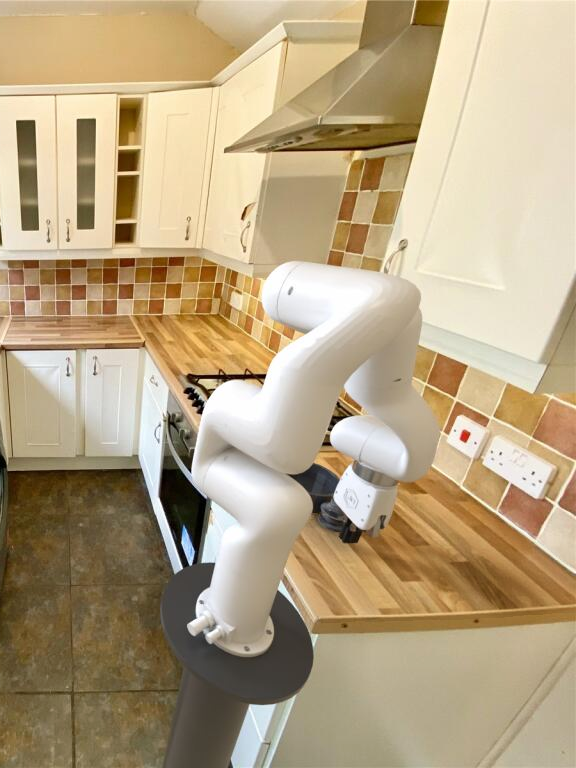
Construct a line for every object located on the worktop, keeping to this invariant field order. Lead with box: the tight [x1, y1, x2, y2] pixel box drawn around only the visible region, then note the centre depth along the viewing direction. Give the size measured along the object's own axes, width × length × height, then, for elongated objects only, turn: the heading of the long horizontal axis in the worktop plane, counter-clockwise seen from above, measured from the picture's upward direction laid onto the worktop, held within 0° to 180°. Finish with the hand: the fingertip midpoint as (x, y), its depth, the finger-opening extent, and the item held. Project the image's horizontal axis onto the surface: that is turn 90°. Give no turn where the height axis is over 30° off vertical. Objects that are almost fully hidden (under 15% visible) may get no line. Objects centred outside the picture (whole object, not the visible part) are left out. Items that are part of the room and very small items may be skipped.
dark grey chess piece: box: [317, 487, 344, 533], centre depth 92 cm, size 6×6×12 cm
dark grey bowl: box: [285, 462, 341, 514], centre depth 103 cm, size 14×14×5 cm
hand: (347, 540), depth 88 cm, fingers closed
